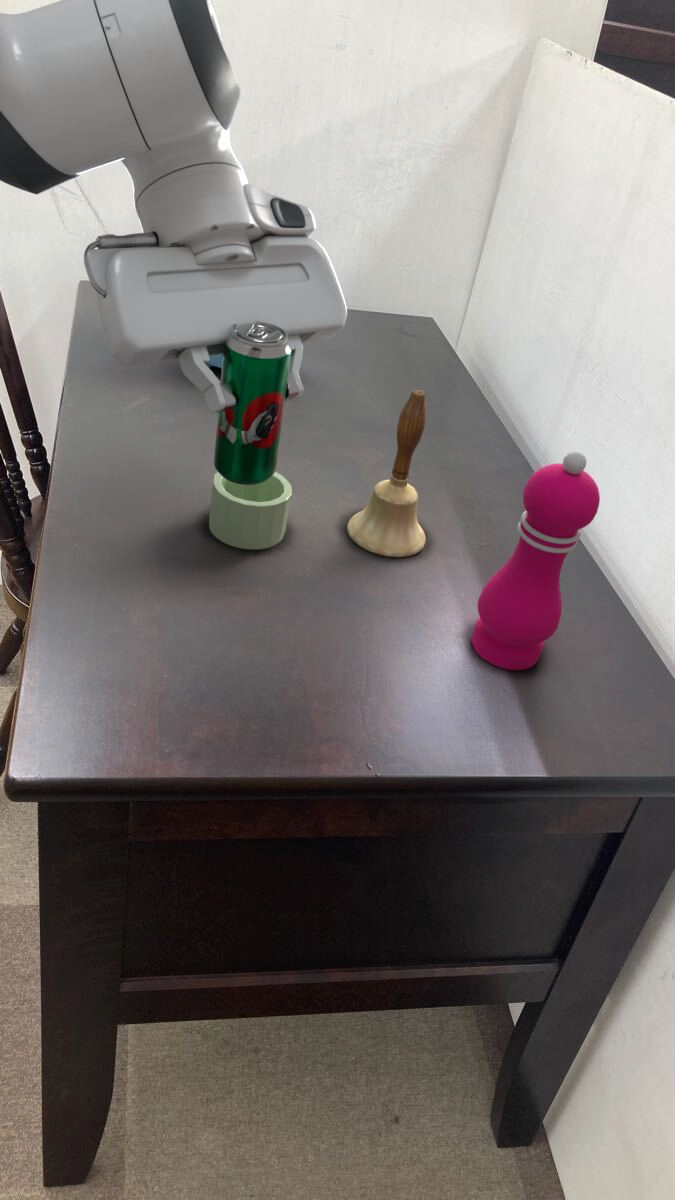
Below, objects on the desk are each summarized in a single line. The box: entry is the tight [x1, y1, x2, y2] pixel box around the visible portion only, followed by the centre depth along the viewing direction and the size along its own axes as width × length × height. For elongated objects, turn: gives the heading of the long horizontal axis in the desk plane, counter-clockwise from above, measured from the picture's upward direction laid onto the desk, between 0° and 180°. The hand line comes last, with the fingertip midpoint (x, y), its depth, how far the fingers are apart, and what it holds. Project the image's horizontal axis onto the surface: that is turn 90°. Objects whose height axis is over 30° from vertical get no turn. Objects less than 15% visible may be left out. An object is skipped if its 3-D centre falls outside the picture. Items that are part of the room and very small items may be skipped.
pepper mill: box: [471, 450, 601, 671], centre depth 75 cm, size 7×7×20 cm
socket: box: [208, 471, 293, 551], centre depth 88 cm, size 8×8×5 cm
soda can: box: [213, 321, 291, 485], centre depth 70 cm, size 5×5×12 cm
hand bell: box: [346, 389, 427, 558], centre depth 88 cm, size 8×8×16 cm
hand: (259, 403), depth 69 cm, fingers closed on soda can, 5 cm apart
